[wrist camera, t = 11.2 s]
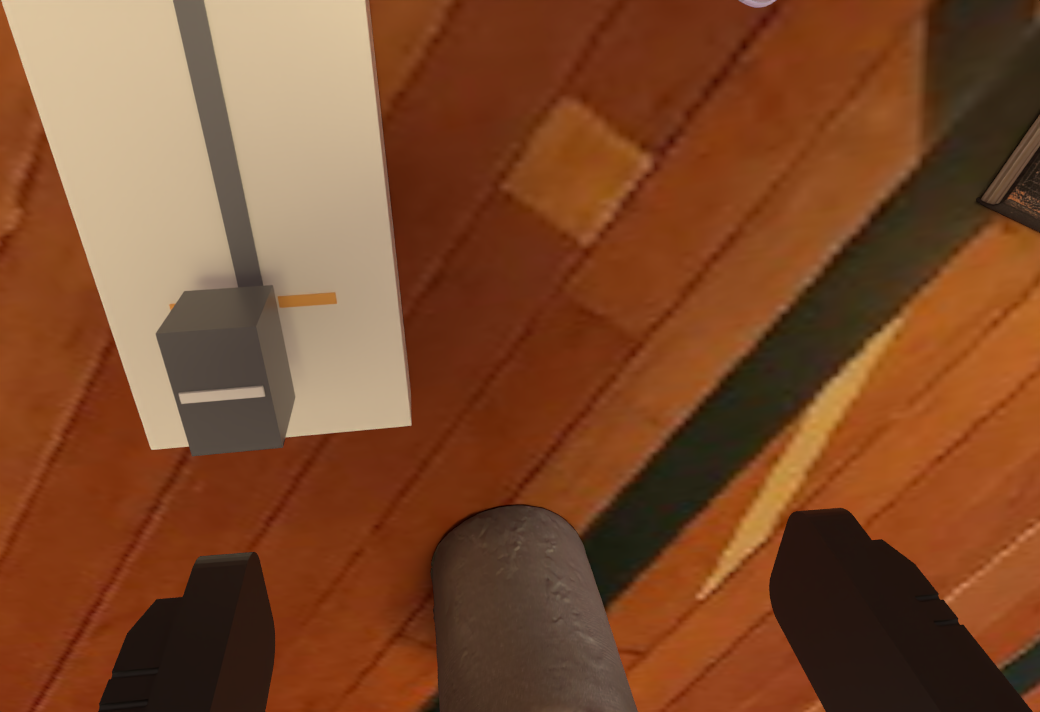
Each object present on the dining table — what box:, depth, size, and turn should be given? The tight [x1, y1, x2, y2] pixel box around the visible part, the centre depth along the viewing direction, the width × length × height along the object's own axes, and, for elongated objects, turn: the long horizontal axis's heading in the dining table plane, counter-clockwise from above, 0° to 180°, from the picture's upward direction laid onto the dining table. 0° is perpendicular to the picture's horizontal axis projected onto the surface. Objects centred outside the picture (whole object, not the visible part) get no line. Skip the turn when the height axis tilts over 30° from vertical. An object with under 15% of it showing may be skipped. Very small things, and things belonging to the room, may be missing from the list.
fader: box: [156, 285, 295, 456], centre depth 27 cm, size 5×3×6 cm, turn 1°
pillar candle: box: [431, 505, 638, 712], centre depth 37 cm, size 10×10×15 cm
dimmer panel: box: [1, 0, 411, 450], centre depth 29 cm, size 24×12×3 cm, turn 1°
